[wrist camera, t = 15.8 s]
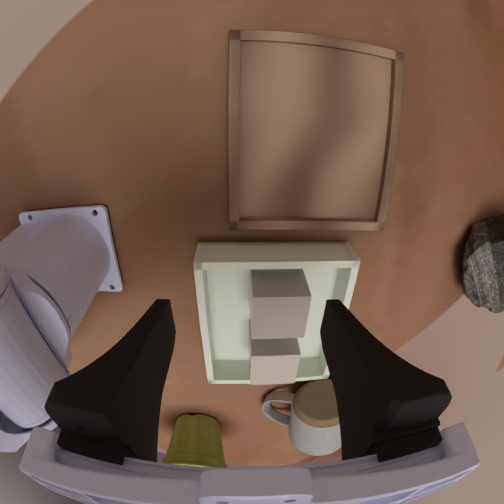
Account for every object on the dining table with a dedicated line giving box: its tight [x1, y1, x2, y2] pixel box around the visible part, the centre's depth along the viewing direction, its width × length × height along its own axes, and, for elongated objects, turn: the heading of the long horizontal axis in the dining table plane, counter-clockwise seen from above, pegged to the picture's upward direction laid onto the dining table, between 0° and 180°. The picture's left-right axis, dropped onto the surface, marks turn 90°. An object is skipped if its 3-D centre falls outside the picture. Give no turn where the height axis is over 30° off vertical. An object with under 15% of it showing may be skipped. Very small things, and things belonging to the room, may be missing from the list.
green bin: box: [193, 242, 360, 384], centre depth 26 cm, size 12×14×3 cm
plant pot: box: [163, 414, 227, 468], centre depth 34 cm, size 9×9×9 cm
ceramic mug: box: [262, 379, 341, 456], centre depth 31 cm, size 11×8×8 cm
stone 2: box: [248, 319, 301, 385], centre depth 26 cm, size 4×4×4 cm
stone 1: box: [249, 269, 312, 339], centre depth 23 cm, size 4×4×4 cm
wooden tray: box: [228, 30, 404, 231], centre depth 19 cm, size 12×14×1 cm
